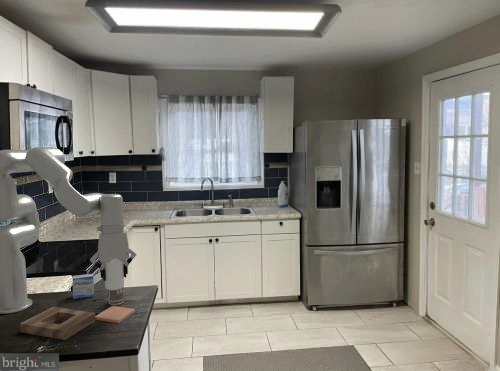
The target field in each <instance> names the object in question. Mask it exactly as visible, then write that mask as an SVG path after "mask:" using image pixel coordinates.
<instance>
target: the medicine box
mask: <svg viewBox="0 0 500 371" xmlns="http://www.w3.org/2000/svg"><path fill="white" fill-rule="evenodd" d="M94 277H95V276H94V273H87V274H79V275H72V296H73V298H72V299H73V300H79V298H80V299H86V297H87V298H92V297H93V298H94V297H95V284H94V281H95V279H94Z"/></svg>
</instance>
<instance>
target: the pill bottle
mask: <svg viewBox="0 0 500 371" xmlns="http://www.w3.org/2000/svg"><path fill="white" fill-rule="evenodd" d="M124 294H125V293H124V287H123V288H121V289H119V290H107V302H108V304H109V305H110V306H118V305H121V304H123V303H124V301H125V296H124Z"/></svg>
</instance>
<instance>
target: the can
mask: <svg viewBox="0 0 500 371" xmlns="http://www.w3.org/2000/svg"><path fill="white" fill-rule="evenodd" d="M123 264H124V263H123V260H122V261H121V260H118V259H113V260H111V261H110V262H107V263H106V264H105V267H104V269H105V274H106V280H105V281H104V286H105V287H104V288H105V290H106V291H108V290H119V289H121V288H123V289H124V287H125V277H124V267H123Z"/></svg>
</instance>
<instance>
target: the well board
mask: <svg viewBox="0 0 500 371" xmlns="http://www.w3.org/2000/svg"><path fill="white" fill-rule="evenodd" d="M95 316H96V312H92V311H91V312H90V311H84V310H78V309H77V310H76V309H70V308H64V307H58V306H51V307H50V308H48V309H46V310H44V311H42V312H40V313H38V314H36V315H34V316H32V317H31V318H28V319H26V320H25V321H22V322H21V323H20V324H19V327H20V329H19V330H20V333H23V334H29V335H35V336H40V337H45V338H46V337H47V338H51V339H56V340H63V341H66V340H68V339H69V338H71V337H72V336H74V335H76V334H77V333H79V332H80V331H82V330H83V329H85V328H86V327H87V328H88V326H90V325H92V324H93V323H94V322H96V320H95ZM57 321H61V322H62V321H63V322H62V323H60V324H57V323H55V322H57Z"/></svg>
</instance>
